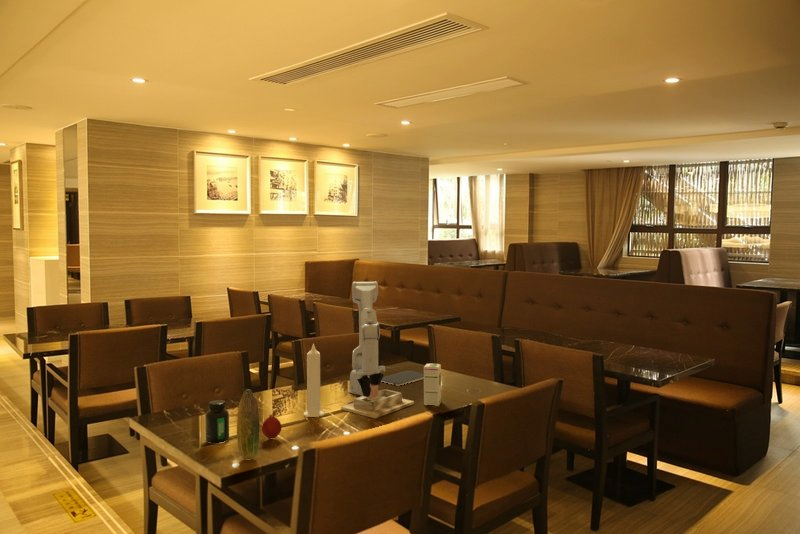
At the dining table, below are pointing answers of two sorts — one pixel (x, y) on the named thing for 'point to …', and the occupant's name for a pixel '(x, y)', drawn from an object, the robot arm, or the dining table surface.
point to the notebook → (403, 378)
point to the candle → (313, 384)
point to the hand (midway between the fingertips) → (370, 395)
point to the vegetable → (248, 425)
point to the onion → (271, 427)
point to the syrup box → (432, 384)
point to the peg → (373, 391)
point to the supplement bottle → (217, 422)
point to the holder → (378, 404)
